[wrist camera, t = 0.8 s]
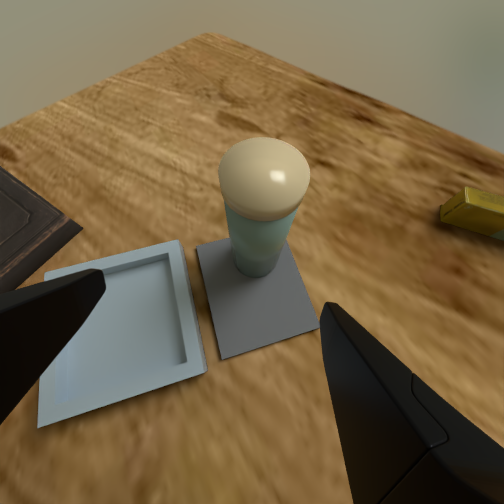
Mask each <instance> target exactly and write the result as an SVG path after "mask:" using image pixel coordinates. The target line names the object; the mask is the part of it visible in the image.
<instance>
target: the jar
mask: <svg viewBox="0 0 504 504" xmlns="http://www.w3.org/2000/svg"><path fill="white" fill-rule="evenodd" d="M218 174H219V182H220V188H221V193H222V196H223V199H224V203H225V210H226V217H227V223H228V230H229V237H230V244H231V250H232V257H233V262H234V265H235V267H236V268H237V270H238V271H239V272H240V273H242V274H243V275H245V276H247V277H251V278H260V277H264V276H266V275H268V274H269V273H271V272H272V271H273V270H274V268H275V267H276V264H277V262H278V259H279V257H280V254H281V251H282V249H283V246H284V243H285V241H286V238H287V235H288V233H289V230H290V227H291V225H292V222H293V219H294V217H295V214H296V211H297V209H298V206H299V205H300V203H301V202H302V200H303V197H304V195H305V192H306V190H307V187H308V184H309V181H310V170H309V166H308V163H307V161H306V159H305V158H304V156H303V155H302V154H301V153H300V152H299V151H298V150H297V149H296V148H294V147H293V146H291V145H290V144H288V143H286V142H284V141H281V140H278V139H274V138H265V137H259V138H251V139H247V140H244V141H241V142H239V143H237V144H235V145H234V146H232V147H231V148H230V149H229V150H228V151H227V152H226V153H225V154H224V156H223V157H222V159H221V161H220V164H219V170H218Z"/></svg>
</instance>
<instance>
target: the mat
mask: <svg viewBox="0 0 504 504" xmlns="http://www.w3.org/2000/svg"><path fill="white" fill-rule="evenodd" d="M196 247H197V252H198V256H199V261H200V265H201V269H202V274H203V278H204V283H205V287H206V291H207V296H208V300H209V305H210V309H211V313H212V318H213V322H214V327H215V331H216V336H217V340H218V344H219V349H220V353H221V358H222V360H223V359H226V358H229V357H232V356H235V355H238V354H241V353H244V352H247V351H250V350H253V349H256V348H259V347H262V346H265V345H268V344H271V343H274V342H277V341H280V340H283V339H286V338H289V337H293V336H296V335H299V334H302V333H305V332H308V331H311V330H314V329H317V328H320V324H319V321H318V319H317V316H316V314H315V311H314V308H313V306H312V303H311V301H310V298H309V296H308V293H307V291H306V288H305V286H304V283H303V281H302V278H301V276H300V273H299V271H298V268H297V266H296V263H295V260H294V258H293V255H292V253H291V250H290V248H289V245H288V243H287V240H286V241H285V243H284V246H283V249H282V251H281V254H280V257H279V259H278V262H277V264H276V267H275V268H274V270H273V271H272V272H271V273H269V274H268V275H266V276H264V277H260V278H251V277H247V276H245V275H243V274H242V273H240V272H239V271H238V270H237V268H236V267H235V265H234V262H233V257H232V250H231V244H230V238H226V239H222V240H218V241H214V242H210V243H206V244H202V245H199V246H196Z"/></svg>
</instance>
